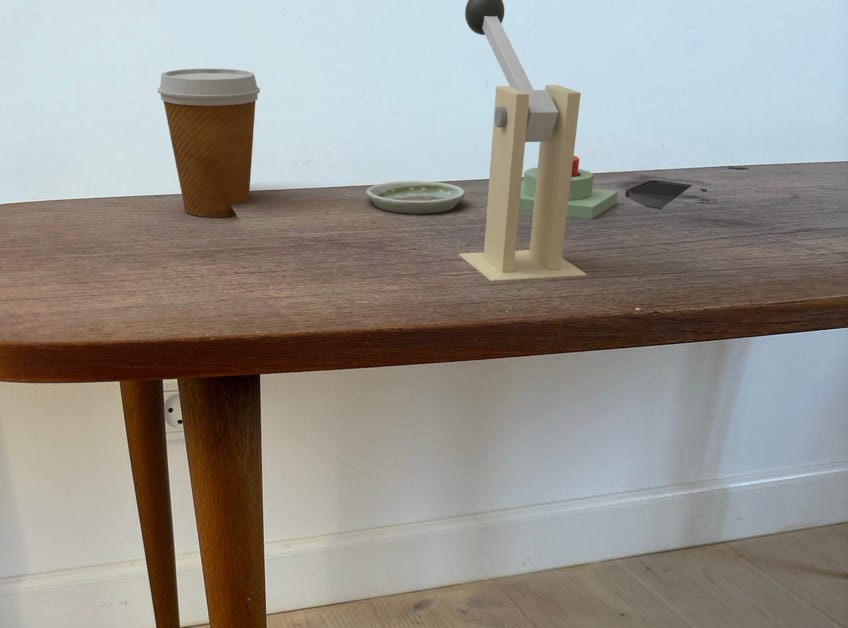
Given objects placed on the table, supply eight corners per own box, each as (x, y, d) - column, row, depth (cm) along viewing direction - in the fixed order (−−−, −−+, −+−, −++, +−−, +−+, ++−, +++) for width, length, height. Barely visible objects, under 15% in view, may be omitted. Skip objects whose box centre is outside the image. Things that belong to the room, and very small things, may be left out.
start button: (582, 175, 103) (584, 156, 102) (570, 182, 100) (572, 162, 99) (547, 171, 104) (549, 152, 103) (534, 178, 102) (536, 158, 101)
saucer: (407, 200, 109) (408, 175, 108) (483, 215, 104) (485, 189, 103) (345, 216, 103) (345, 189, 102) (422, 232, 98) (423, 205, 97)
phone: (767, 211, 102) (622, 190, 109) (764, 223, 102) (620, 202, 109) (791, 197, 107) (651, 178, 114) (788, 209, 108) (650, 189, 115)
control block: (615, 214, 105) (621, 171, 103) (590, 231, 99) (596, 186, 97) (521, 203, 109) (525, 161, 107) (492, 218, 103) (495, 174, 101)
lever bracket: (458, 268, 88) (469, 83, 80) (547, 263, 90) (566, 81, 82) (490, 295, 82) (506, 97, 74) (585, 289, 83) (610, 95, 76)
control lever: (457, 21, 88) (464, -19, 85) (493, 21, 88) (502, -19, 86) (515, 147, 79) (525, 107, 77) (554, 146, 80) (566, 106, 77)
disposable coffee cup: (282, 206, 106) (278, 72, 100) (229, 225, 99) (221, 82, 92) (204, 195, 110) (195, 65, 103) (148, 213, 103) (134, 75, 96)
